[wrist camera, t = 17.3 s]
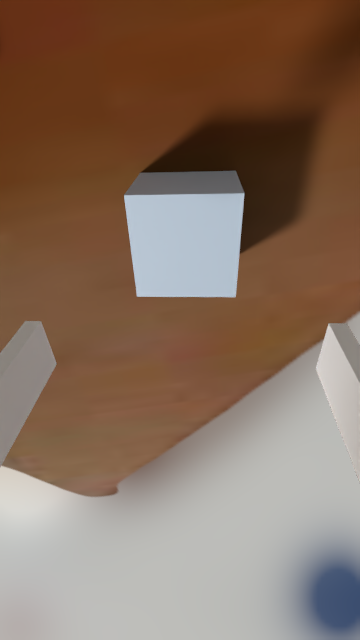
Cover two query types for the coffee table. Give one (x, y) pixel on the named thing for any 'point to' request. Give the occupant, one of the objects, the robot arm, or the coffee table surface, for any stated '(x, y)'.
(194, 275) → the slate block
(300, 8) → the coffee table surface
